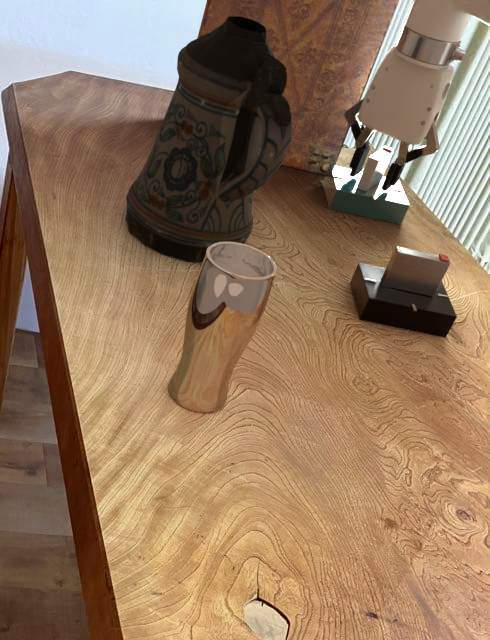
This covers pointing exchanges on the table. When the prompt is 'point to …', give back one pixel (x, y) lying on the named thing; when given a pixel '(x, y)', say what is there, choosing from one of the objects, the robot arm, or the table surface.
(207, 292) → the beer glass
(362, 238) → the table surface
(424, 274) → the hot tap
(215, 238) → the beer stein
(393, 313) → the base
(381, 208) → the base
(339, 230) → the table surface
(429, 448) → the table surface
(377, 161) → the cold tap
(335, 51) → the book
